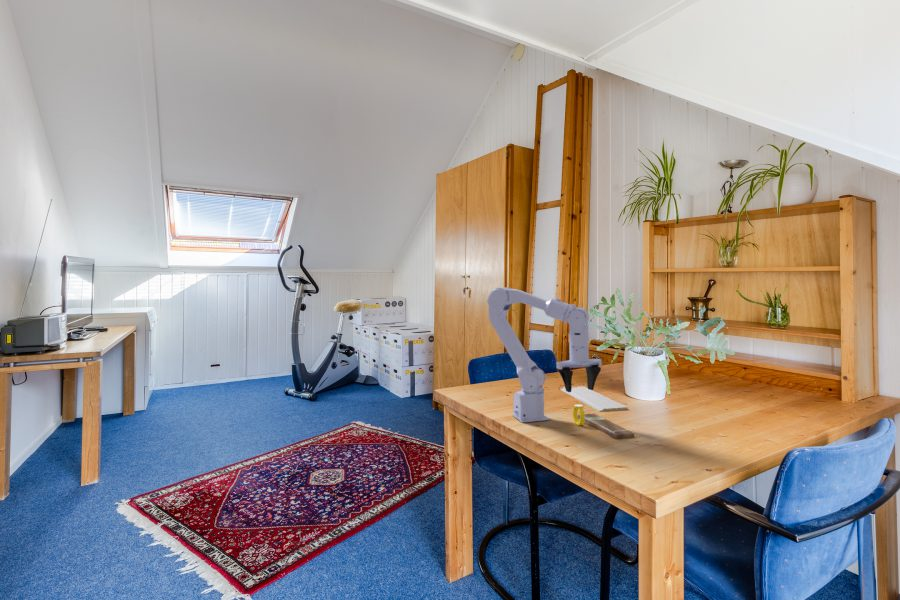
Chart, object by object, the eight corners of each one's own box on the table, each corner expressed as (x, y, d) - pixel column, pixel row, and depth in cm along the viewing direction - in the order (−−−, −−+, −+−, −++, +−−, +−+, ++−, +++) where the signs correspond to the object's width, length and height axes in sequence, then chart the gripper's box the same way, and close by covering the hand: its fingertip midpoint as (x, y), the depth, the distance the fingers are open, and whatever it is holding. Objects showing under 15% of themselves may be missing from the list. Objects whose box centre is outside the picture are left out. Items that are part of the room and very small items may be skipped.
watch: (570, 422, 143) (570, 403, 143) (579, 422, 143) (578, 403, 143) (578, 427, 137) (578, 407, 137) (587, 426, 137) (586, 407, 137)
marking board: (615, 438, 127) (615, 435, 127) (577, 417, 146) (577, 414, 146) (634, 436, 128) (634, 433, 128) (594, 416, 148) (594, 413, 148)
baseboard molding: (595, 413, 153) (627, 411, 155) (595, 405, 153) (627, 403, 155) (556, 391, 183) (583, 390, 186) (556, 384, 183) (584, 382, 185)
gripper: (564, 350, 134) (564, 395, 134) (607, 346, 137) (607, 391, 138) (552, 346, 140) (553, 390, 141) (594, 344, 144) (594, 386, 145)
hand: (579, 390), depth 140 cm, fingers open, 7 cm apart
